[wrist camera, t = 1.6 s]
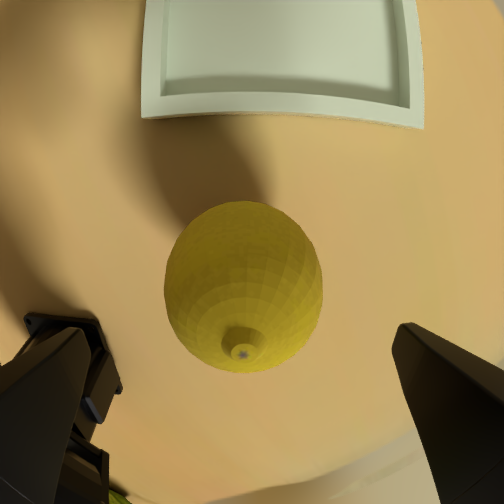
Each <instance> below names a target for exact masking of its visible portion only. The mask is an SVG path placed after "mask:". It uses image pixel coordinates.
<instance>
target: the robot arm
mask: <svg viewBox="0 0 504 504" xmlns="http://www.w3.org/2000/svg"><path fill="white" fill-rule="evenodd" d="M24 322H25V324H26V327H27V329H28V331H29V334H30V337H29V339H28V340H27V341H26V342H25V344H24V345H23V346H22V348H21V349H20V350H19V352H18V353H17V354H16V356H15V357H14V358H13V360H11V361H10V362H8V363H6V364H5V365H3V366H1V365H0V504H109V453H107V452H106V451H104V450H102V449H99V448H97V447H96V446H94V445H93V444H91V443H90V440H91V438H92V435H93V432H94V430H95V427H96V424H102V423H103V422H104V420H105V418H106V415H107V412H108V410H109V407H110V404H111V402H112V399H113V396H114V394H118V395H119V394H121V392H122V390H123V387H122V384H121V382H120V377H119V374H118V372H117V369H116V367H115V364H114V361H113V358H112V356H111V353H110V352H109V350H108V347H107V344H106V342H105V339H104V336H103V333H102V329H101V326H100V324H99V323H98V322H97V321H95V320H92V319H83V318H72V317H62V316H53V315H44V314H36V313H27V314H26V315H25V316H24ZM92 327H93V328H94V329H93V328H92ZM392 355H393V358H394V362H395V365H396V369H397V372H398V375H399V379H400V383H401V386H402V390H403V393H404V396H405V399H406V402H407V404H408V407H409V409H410V412H411V415H412V417H413V420H414V423H415V425H416V428H417V430H418V434H419V436H420V439H421V442H422V445H423V448H424V451H425V454H426V457H427V460H428V463H429V466H430V469H431V472H432V475H433V479H434V482H435V486H436V489H437V492H438V496H439V500H440V503H441V504H504V370H502V369H500V368H498V367H496V366H495V365H493V364H491V363H489V362H487V361H485V360H483V359H481V358H480V357H478V356H476V355H474V354H472V353H470V352H468V351H466V350H464V349H463V348H461V347H459V346H457V345H455V344H453V343H451V342H449V341H447V340H445V339H444V338H442V337H440V336H438V335H436V334H434V333H432V332H430V331H428V330H426V329H425V328H423V327H421V326H419V325H417V324H415V323H412V322H410V323H403V324H400V325H399V327H398V329H397V332H396V335H395V338H394V341H393V344H392ZM0 364H1V363H0Z"/></svg>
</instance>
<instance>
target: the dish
mask: <svg viewBox="0 0 504 504" xmlns="http://www.w3.org/2000/svg"><path fill="white" fill-rule="evenodd" d="M232 114H266V115H295V116H311V117H324V118H335V119H345V120H354V121H362V122H369V123H376V124H383V125H389V126H395V127H401V128H412V129H424V76H423V58H422V46H421V36H420V28H419V20H418V13H417V7H416V1H415V0H147V1H146V10H145V21H144V33H143V50H142V75H141V118H146V119H163V118H174V117H187V116H203V115H232Z"/></svg>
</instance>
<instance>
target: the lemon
mask: <svg viewBox="0 0 504 504" xmlns="http://www.w3.org/2000/svg"><path fill="white" fill-rule="evenodd" d="M164 297H165V303H166V309H167V315H168V318H169V321H170V324H171V326H172V328H173V330H174V332H175V334H176V336H177V337H178V339H179V340H180V341H181V343H182V344H183V345H184V346H185V347H186V348H187V349H188V350H189V352H190V353H192V354H193V355H194V356H196V357H197V358H199V359H200V360H201V361H203V362H204V363H206V364H208V365H210V366H213V367H215V368H217V369H220V370H224V371H229V372H234V373H252V372H258V371H264V370H267V369H270V368H272V367H275V366H278V365H279V364H281V363H283V362H284V361H286V360H287V359H289V358H291V357H292V356H294V355H295V354H296V353H297V352H298V351H299V350H300V349H301V348H302V347H303V346H304V345H305V343H306V342H307V340H308V339H309V337H310V336H311V334H312V332H313V331H314V329H315V327H316V324H317V321H318V318H319V314H320V311H321V307H322V300H323V290H322V271H321V267H320V264H319V261H318V258H317V255H316V252H315V249H314V247H313V244H312V243H311V241H310V240H309V239H308V237H307V236H306V234H305V233H304V231H303V230H302V229H301V227H300V226H299V225H298V224H297V223H296V222H295V221H293V220H292V219H291V218H290V217H288V216H287V215H286V214H285V213H284V212H282V211H280V210H278V209H275V208H273V207H271V206H269V205H267V204H264V203H258V202H252V201H234V202H227V203H224V204H221V205H218V206H215V207H212V208H210V209H208V210H207V211H205V212H204V213H202V214H201V215H199V216H198V217H196V218H195V219H194V220H193V221H191V223H190V224H189V225H188V226H187V227H186V228H185V230H184V231H183V232H182V233H181V234H180V236H179V237H178V239H177V240H176V243H175V245H174V247H173V249H172V251H171V254H170V256H169V258H168V261H167V266H166V274H165V282H164Z"/></svg>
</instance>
